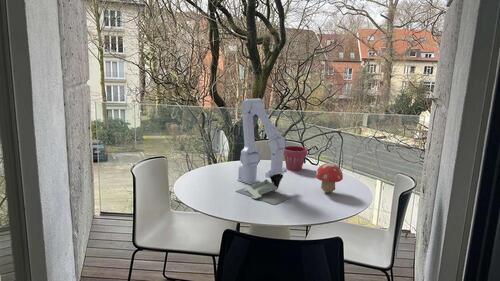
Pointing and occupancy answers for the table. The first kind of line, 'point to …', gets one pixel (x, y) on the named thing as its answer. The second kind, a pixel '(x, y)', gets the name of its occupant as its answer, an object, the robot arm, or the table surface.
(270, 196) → the rubber mat
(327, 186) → the decorative mushroom
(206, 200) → the table surface
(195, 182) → the table surface
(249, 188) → the metal bracket
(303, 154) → the plant pot
